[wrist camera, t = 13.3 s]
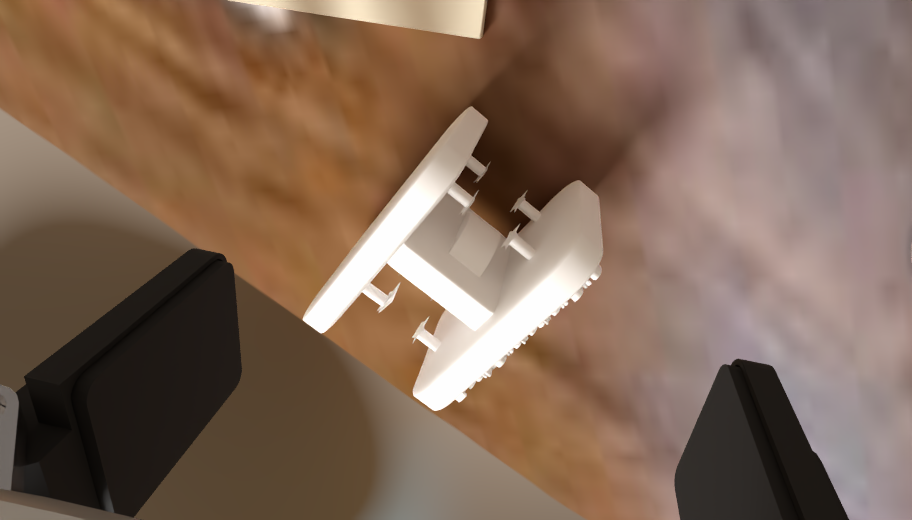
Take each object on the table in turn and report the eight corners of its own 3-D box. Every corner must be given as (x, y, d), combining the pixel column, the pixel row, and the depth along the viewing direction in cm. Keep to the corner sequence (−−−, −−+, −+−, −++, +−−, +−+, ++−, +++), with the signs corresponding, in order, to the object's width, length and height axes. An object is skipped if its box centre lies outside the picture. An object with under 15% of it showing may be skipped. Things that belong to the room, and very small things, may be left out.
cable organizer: (482, 84, 37) (445, 135, 26) (605, 190, 38) (614, 276, 28) (356, 241, 44) (289, 329, 34) (465, 325, 45) (433, 432, 35)
